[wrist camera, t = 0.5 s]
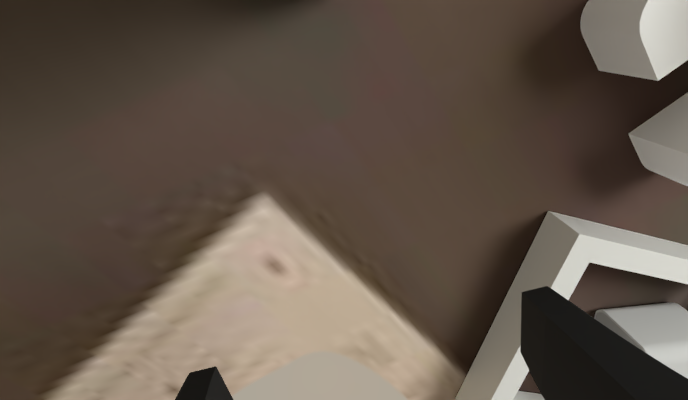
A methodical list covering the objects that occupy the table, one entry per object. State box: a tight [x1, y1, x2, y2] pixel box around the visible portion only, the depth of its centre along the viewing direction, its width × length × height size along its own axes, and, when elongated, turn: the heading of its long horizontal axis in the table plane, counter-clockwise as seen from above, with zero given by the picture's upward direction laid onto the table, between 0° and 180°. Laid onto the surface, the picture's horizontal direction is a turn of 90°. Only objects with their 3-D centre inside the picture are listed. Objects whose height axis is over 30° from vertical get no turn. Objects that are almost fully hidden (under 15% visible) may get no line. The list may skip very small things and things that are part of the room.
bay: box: [455, 211, 688, 400], centre depth 24 cm, size 12×11×2 cm
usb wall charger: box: [594, 302, 688, 379], centre depth 23 cm, size 4×7×4 cm, turn 92°
